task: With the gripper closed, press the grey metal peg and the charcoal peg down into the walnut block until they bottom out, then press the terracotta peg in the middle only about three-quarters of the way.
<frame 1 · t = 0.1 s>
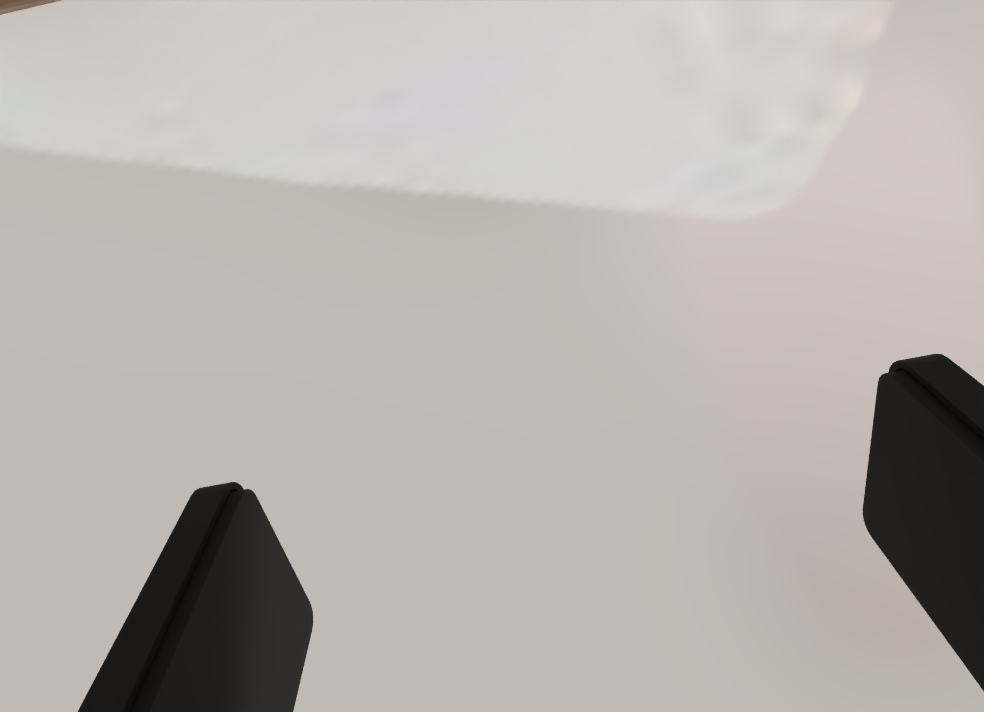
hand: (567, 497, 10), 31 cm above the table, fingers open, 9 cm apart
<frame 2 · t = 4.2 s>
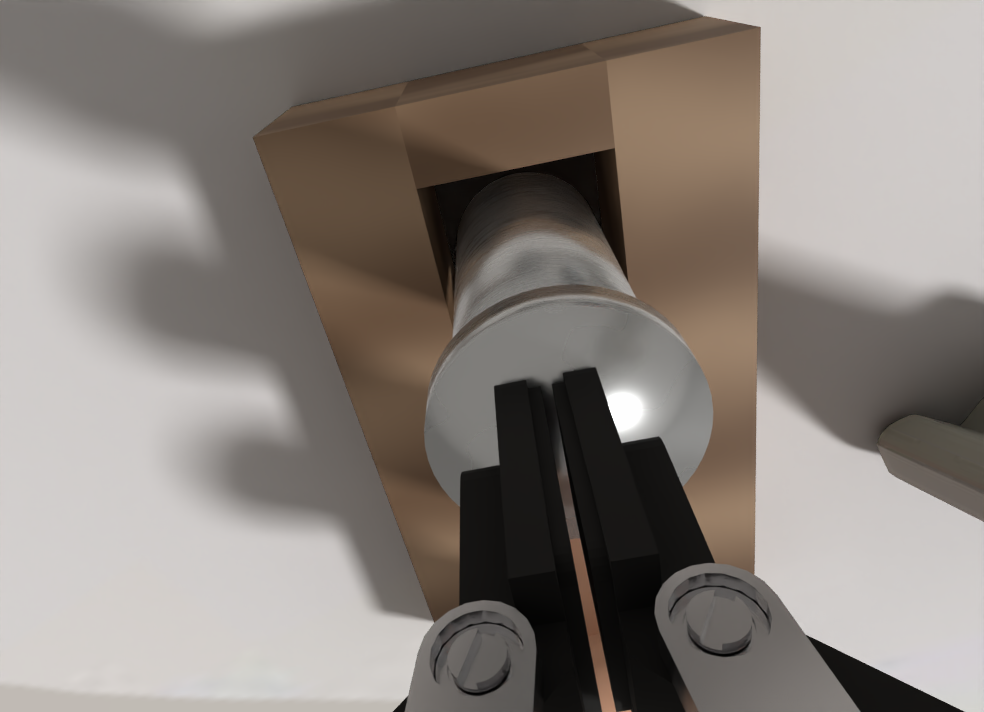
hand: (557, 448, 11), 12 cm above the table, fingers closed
terracotta peg: (588, 570, 18), point 8 cm above the table, slide at 0.0 cm
grey peg: (542, 314, 15), point 7 cm above the table, slide at 0.9 cm, touching gripper
walnut block: (555, 402, 25), on the table
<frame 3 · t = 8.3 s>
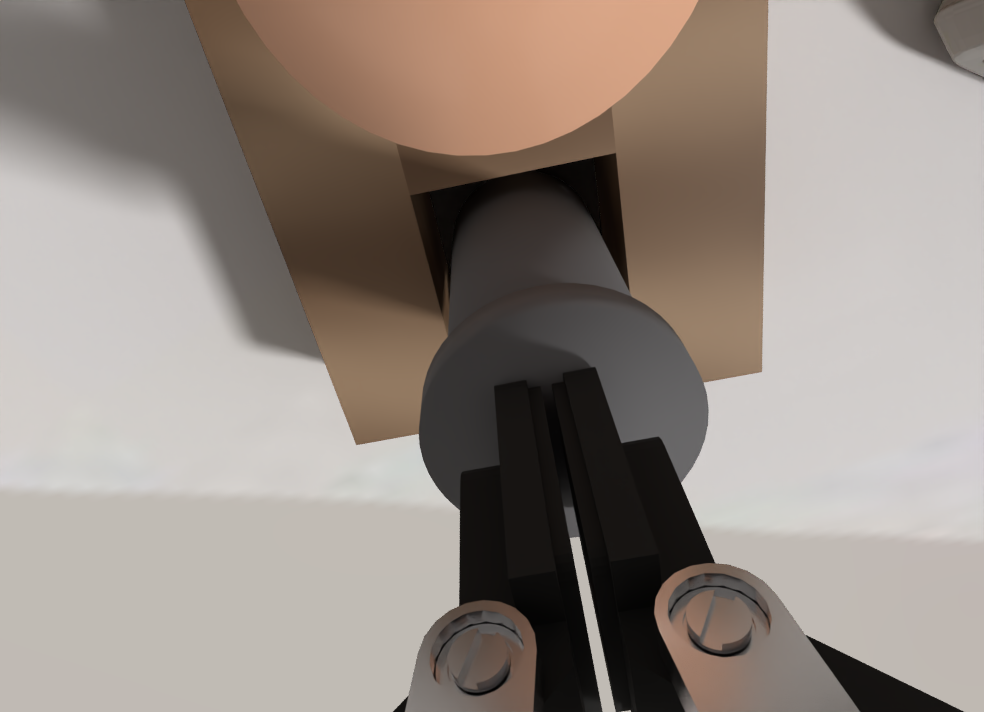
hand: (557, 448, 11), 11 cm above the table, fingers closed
charcoal peg: (538, 312, 15), point 6 cm above the table, slide at 1.6 cm, touching gripper
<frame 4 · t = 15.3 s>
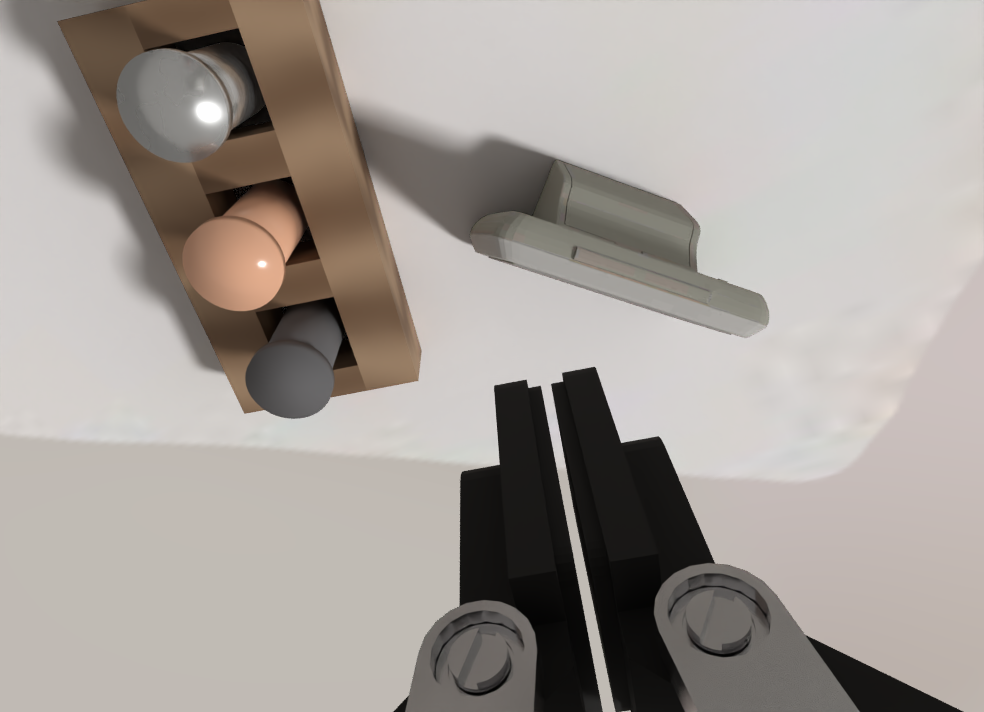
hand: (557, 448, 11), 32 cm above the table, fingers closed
terracotta peg: (257, 236, 36), point 5 cm above the table, slide at 2.5 cm
charcoal peg: (305, 344, 41), point 5 cm above the table, slide at 3.3 cm
digital clock: (591, 239, 43), on the table
grey peg: (206, 93, 33), point 5 cm above the table, slide at 3.3 cm
walnut block: (281, 206, 41), on the table
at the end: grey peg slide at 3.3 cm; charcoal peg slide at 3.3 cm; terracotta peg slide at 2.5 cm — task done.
